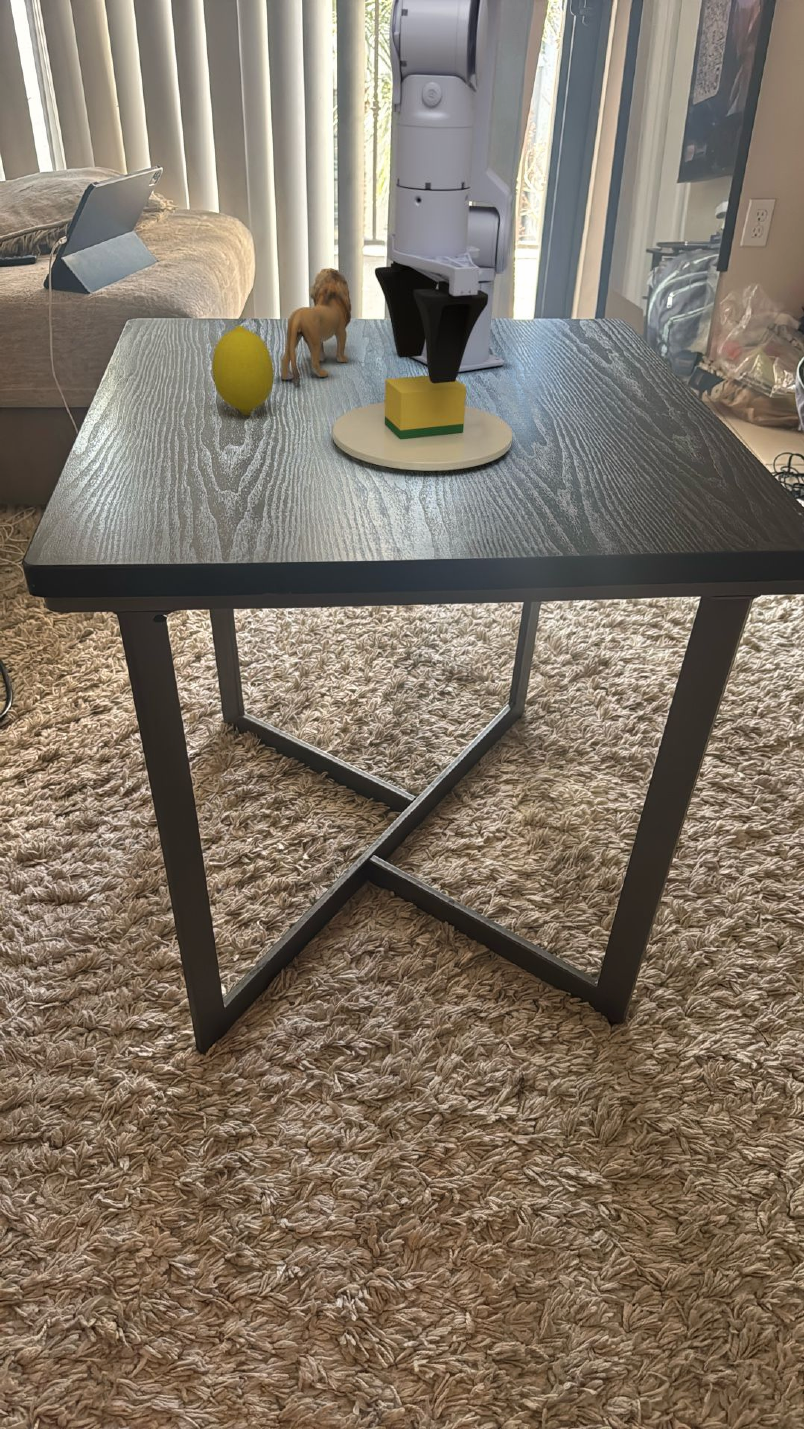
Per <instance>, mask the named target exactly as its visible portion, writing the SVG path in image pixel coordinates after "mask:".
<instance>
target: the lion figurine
mask: <svg viewBox="0 0 804 1429" xmlns="http://www.w3.org/2000/svg"><path fill="white" fill-rule="evenodd" d="M314 281H315V282H314V283H313V285H312V286H310V287H309V288H308V295H309V297H310V299H312V300H313V304H314V305H313V306H312V307H310V306H305V307H299V308H297V309H296V310H294V311H293V312H292V313H291V314H290V317H289V318H288V322H287V329H286V341H285V342H286V343H285V351H284V354H283V356H282V358H281V379H282V380H291V379H292V380H293V382H294V383H296V384H297V383H300V382H301V374H300V372H299V369H298V365H297V353H296V351H297V350H296V349H297V347H298V345H299V343H300V341H301V339H302V338H303V340H304V342H305V344H306V346H307V348H308V351H309V353H310V366H311V367H312V369H313V370H314V373H315V375H316V376H318V377H320V378H325V377H328V376H329V371H328V370H327V369H325V368H322V367H321V365H320V362H323V361H325V357H326V352H325V346H324V342H327V341H329V340H330V339H332V338H333V337H335V339H336V354H335V357H336V361H337V362H338V363H347V362H349V358H348V357H347V356H346V355H345V351H346V344H347V337H348V336H347V335H348V334H347V331H346V328H347V327H348V325H349V324H350V323H351V319H352V313H351V312H352V303H351V298H350V289H349V285H348V281H347V280H346V278H345V276H344V275H343V274H342V273H340V271H339V270H338V269H335V268H332V267H329V268H322V269H321V270H320V272H318V273H317V274H316V276H315V278H314ZM290 365H291V369H292V372H291V371H290Z"/></svg>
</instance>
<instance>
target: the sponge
mask: <svg viewBox="0 0 804 1429" xmlns="http://www.w3.org/2000/svg"><path fill="white" fill-rule="evenodd" d="M466 399H467V386H466V385H464V384H463V383H462V382H460V381H459V380H458V379H456V381H455V382H446V383H432V382H431V381H430V378H429V374H428V375H417V376H416V375H415V376H406V377H394V378H385V380H384V402H385V425H386V426H387V427H388V428H389V429H390V430H391V431H392V432H393V433H394V434H395V435H396V436H397V437H398V438H399V439H409V438H418V437H427V436H436V435H445V434H455V433H463V428H464V415H465V406H466Z"/></svg>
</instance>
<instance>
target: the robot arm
mask: <svg viewBox="0 0 804 1429" xmlns="http://www.w3.org/2000/svg"><path fill="white" fill-rule="evenodd" d="M501 10H502V0H392V5H391V11H390V18H389V31H388V32H389V36H388V37H389V39H388V44H389V59H390V68H391V69H390V70H391V77H392V106H393V109H392V110H393V113H396V116H397V119H396V120H397V121H396V152H395V153H396V155H395V156H396V158H395V205H394V206H395V210H394V213H395V214H394V215H395V216H394V233H388V234H387V259H388V260H390V261H392V263H390V266H380V267H376V268H375V269H374V276H375V278H376V280H377V283H378V284H379V286H380V289H381V292H382V293H383V296H384V299H385V302H386V306H387V310H388V314H389V320H390V324H391V330H392V335H393V341H394V346H395V350H396V355H397V356H398V357H399V358H400V359H402V358H413V359H415V360H417V361H418V362H421V363H423V364H424V365H426V367H427V374H428V375H429V378H430V381H431V382H432V383H446V382H455V381H456V380H457V378H458V375H459V373H460V372H466V371H473V370H479V369H487V368H492V367H498V366H503V365H505V360H504V359H502V358H500V357H498V356H495V355H493V354H491V353H490V343H491V342H490V341H491V328H492V316H493V307H494V306H493V305H494V304H493V302H494V291H495V280H496V277H497V275H503V273H504V272H505V271H506V270H507V269H508V266H509V261H510V254H511V246H512V245H511V244H512V234H513V233H512V232H513V216H514V215H513V214H514V213H513V202H514V196H513V194H512V190H511V188H510V187H509V185H508V184H507V183H506V182H505V181H503V179H502V178H500V176H499V175H498V174H496V172H494V170H492V169H491V167H490V157H491V145H492V144H491V143H492V130H493V118H494V104H495V93H496V92H495V91H496V79H497V78H496V77H497V65H498V63H497V62H498V50H499V37H500V24H501ZM470 202H472V203H473V202H474V203H486V204H490V205H492V206H487V205H486V206H484V205H470Z"/></svg>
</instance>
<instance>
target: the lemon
mask: <svg viewBox="0 0 804 1429" xmlns="http://www.w3.org/2000/svg"><path fill="white" fill-rule="evenodd" d="M212 379H213V383H214V386H215V388H216V391H217V393H218V394H219V397H221V399H222V400H223V401H224V402H225V403H226V404H227V405H229V406H230V407H232V408H235V409H237V410H238V411H239V412H240V413H241V414H242V415H244V416H247V415H250V414H251V413H252V412H253V411H254V409H256V408H258V407H260V406H261V405H263V404H264V403H265V402H266V401H267V400H268V398H269V396H270V394H271V391H272V388H273V384H274V366H273V361H272V357H271V354H270V351H269V348H268V346H267V344H266V343H265V341H264V340H263V339H262V338H261V337H260V336H259V335H257V334H256V333H255V332H253V331H251V330H248V329H246V328H245V326H244V325H236V326H235V327H234V328H233V330H230V331H227V332H226V333H224V334H223V335H222V337H220V338H219V340H218V341H217V343H216V345H215V348H214V351H213V356H212Z"/></svg>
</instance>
